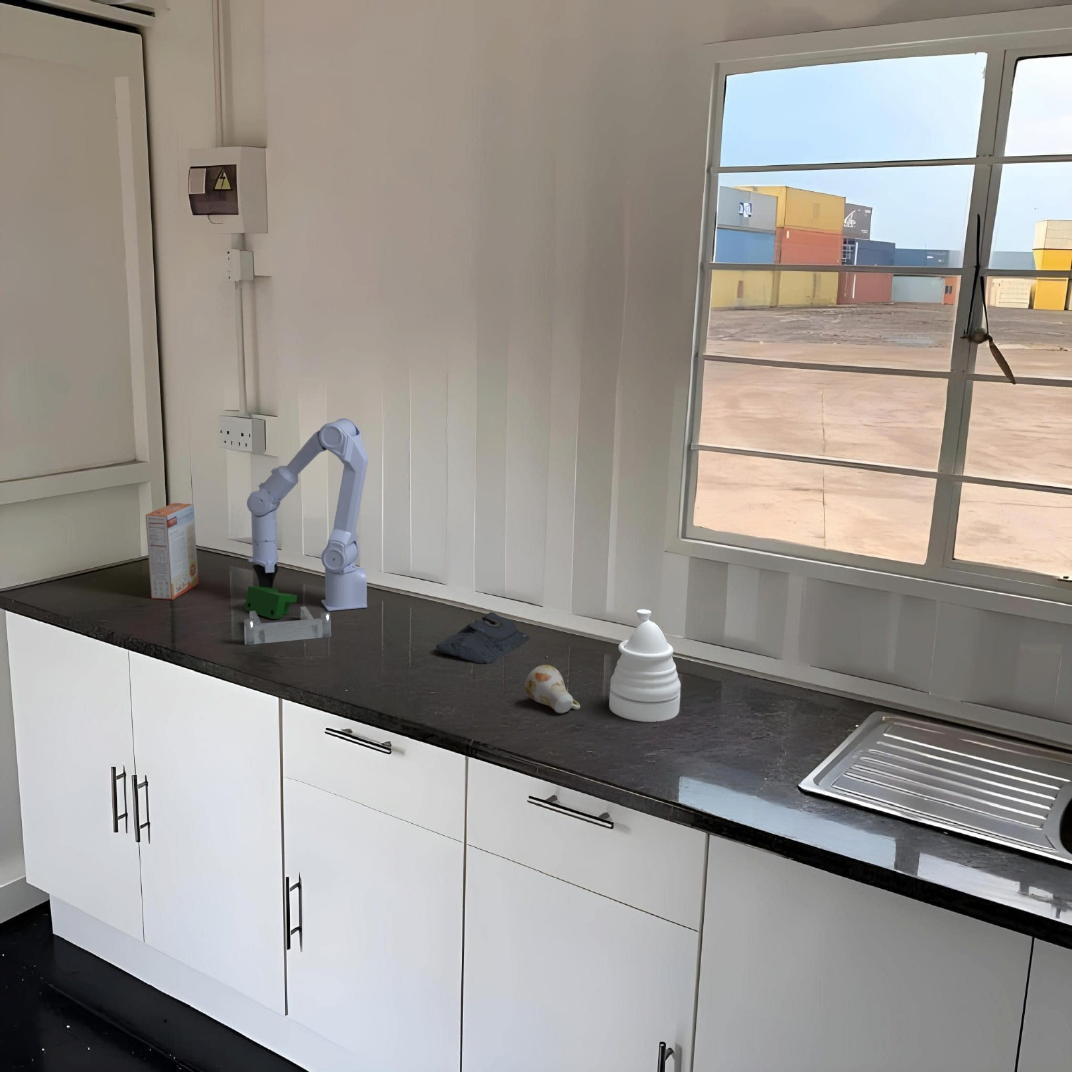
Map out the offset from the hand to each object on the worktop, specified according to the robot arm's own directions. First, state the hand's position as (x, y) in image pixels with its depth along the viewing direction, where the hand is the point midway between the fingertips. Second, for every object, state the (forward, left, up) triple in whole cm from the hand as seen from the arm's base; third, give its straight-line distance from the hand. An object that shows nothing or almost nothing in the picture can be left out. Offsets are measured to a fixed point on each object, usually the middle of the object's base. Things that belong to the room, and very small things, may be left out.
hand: (266, 594), depth 249 cm
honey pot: (-55, +89, -2) cm, 104 cm away
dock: (0, +25, -1) cm, 25 cm away
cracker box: (+20, -13, -2) cm, 24 cm away
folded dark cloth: (-38, +46, -2) cm, 60 cm away
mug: (-39, +82, -2) cm, 91 cm away
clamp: (0, +11, -2) cm, 11 cm away
